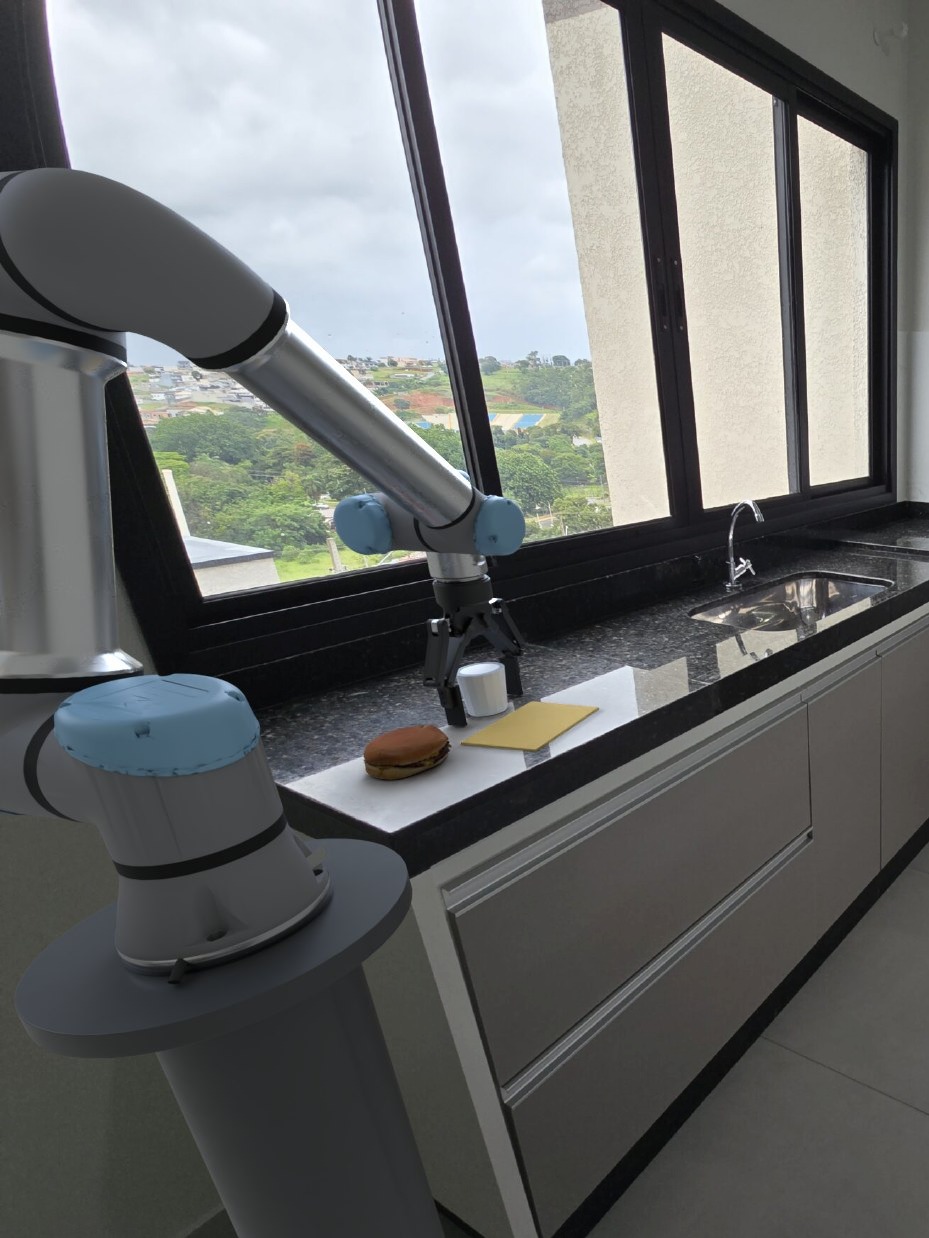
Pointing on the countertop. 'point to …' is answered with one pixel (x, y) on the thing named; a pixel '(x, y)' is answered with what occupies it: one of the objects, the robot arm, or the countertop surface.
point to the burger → (405, 752)
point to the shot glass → (483, 688)
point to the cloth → (530, 726)
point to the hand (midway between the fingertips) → (487, 709)
